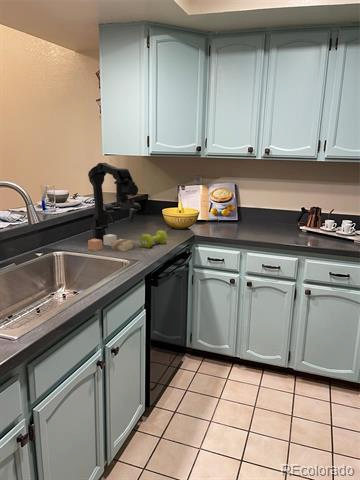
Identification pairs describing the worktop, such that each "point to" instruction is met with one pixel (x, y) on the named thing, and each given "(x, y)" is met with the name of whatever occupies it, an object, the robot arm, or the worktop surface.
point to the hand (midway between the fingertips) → (122, 223)
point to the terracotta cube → (94, 244)
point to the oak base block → (122, 244)
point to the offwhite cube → (109, 239)
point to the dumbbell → (153, 239)
